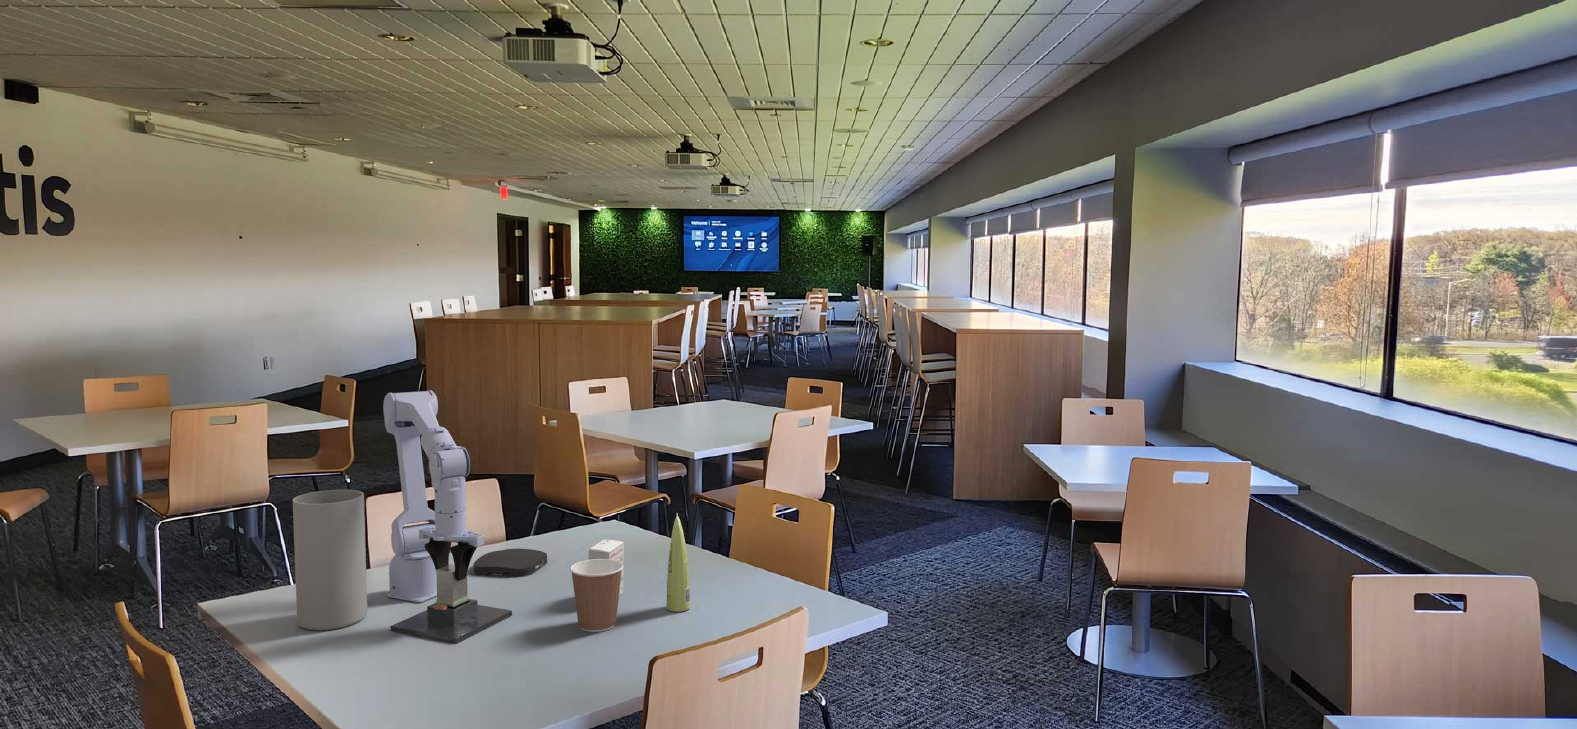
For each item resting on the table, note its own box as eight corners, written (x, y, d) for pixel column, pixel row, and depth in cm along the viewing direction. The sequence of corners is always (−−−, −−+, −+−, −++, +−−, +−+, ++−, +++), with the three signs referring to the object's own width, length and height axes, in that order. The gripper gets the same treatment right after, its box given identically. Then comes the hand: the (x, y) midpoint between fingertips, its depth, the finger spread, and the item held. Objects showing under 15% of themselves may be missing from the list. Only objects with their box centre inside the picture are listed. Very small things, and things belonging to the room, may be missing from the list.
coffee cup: (633, 620, 181) (632, 562, 180) (606, 638, 172) (606, 577, 171) (588, 613, 185) (588, 556, 184) (560, 631, 175) (559, 571, 174)
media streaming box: (496, 557, 223) (496, 546, 223) (552, 561, 221) (552, 549, 221) (467, 576, 209) (467, 563, 209) (527, 579, 207) (527, 567, 207)
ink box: (609, 606, 189) (608, 551, 188) (586, 604, 190) (586, 549, 189) (624, 593, 198) (624, 539, 197) (603, 591, 199) (602, 538, 198)
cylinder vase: (282, 626, 176) (277, 500, 174) (334, 605, 188) (330, 487, 186) (331, 635, 172) (326, 506, 170) (381, 613, 184) (378, 493, 181)
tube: (659, 608, 188) (659, 516, 187) (677, 602, 192) (677, 511, 191) (677, 614, 185) (677, 521, 183) (695, 608, 189) (695, 516, 187)
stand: (390, 631, 174) (390, 608, 174) (449, 604, 189) (449, 583, 189) (456, 643, 169) (455, 619, 168) (512, 615, 183) (511, 593, 183)
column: (436, 604, 177) (435, 570, 177) (451, 598, 181) (450, 564, 181) (453, 607, 176) (452, 572, 175) (468, 600, 180) (467, 566, 179)
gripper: (406, 511, 176) (408, 579, 177) (465, 518, 171) (467, 588, 172) (432, 503, 182) (434, 568, 184) (490, 510, 177) (492, 577, 178)
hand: (451, 577), depth 178 cm, fingers closed on column, 4 cm apart
